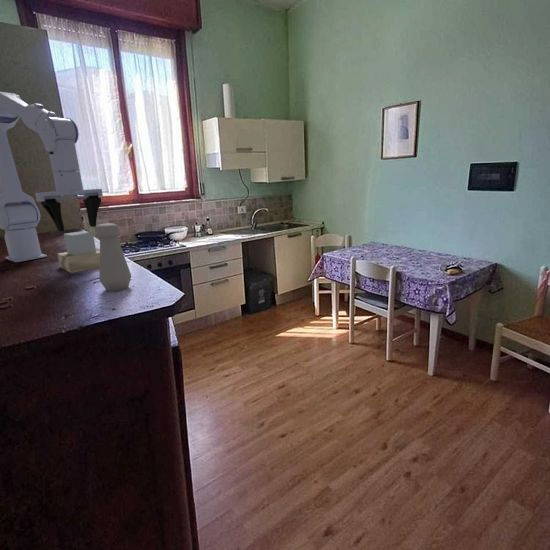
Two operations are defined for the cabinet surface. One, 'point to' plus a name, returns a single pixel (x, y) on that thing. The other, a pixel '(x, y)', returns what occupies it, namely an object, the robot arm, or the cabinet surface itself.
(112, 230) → the salt shaker
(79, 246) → the blue-grey cube
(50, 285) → the cabinet surface
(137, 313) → the cabinet surface
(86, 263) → the birch block
